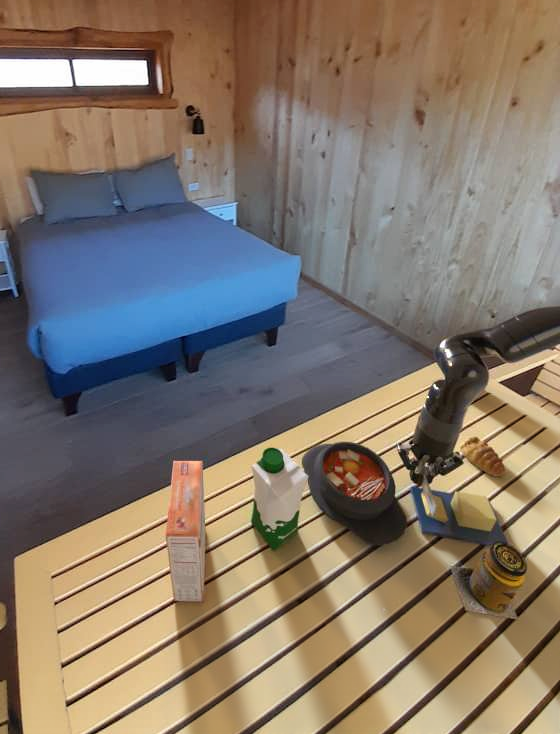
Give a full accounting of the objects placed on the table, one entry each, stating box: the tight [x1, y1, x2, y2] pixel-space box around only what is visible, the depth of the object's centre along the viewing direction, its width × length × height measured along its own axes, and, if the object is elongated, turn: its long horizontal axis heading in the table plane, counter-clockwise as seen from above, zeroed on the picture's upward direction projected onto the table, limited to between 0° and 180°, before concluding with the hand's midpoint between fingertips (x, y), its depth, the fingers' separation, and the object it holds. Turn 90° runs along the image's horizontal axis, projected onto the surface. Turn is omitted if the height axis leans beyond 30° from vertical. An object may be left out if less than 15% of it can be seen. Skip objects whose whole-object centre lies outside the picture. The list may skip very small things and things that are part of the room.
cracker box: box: [165, 460, 206, 603], centre depth 75 cm, size 14×6×21 cm, turn 178°
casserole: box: [301, 441, 409, 546], centre depth 89 cm, size 25×19×8 cm
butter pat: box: [421, 492, 448, 523], centre depth 86 cm, size 1×5×4 cm
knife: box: [416, 466, 437, 517], centre depth 87 cm, size 13×2×3 cm, turn 168°
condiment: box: [449, 541, 528, 620], centre depth 71 cm, size 7×8×12 cm
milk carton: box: [250, 447, 308, 552], centre depth 80 cm, size 9×9×20 cm
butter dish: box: [409, 486, 509, 547], centre depth 85 cm, size 16×10×5 cm, turn 78°
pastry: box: [459, 435, 506, 477], centre depth 97 cm, size 9×7×4 cm
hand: (419, 481), depth 91 cm, fingers closed on knife, 1 cm apart
